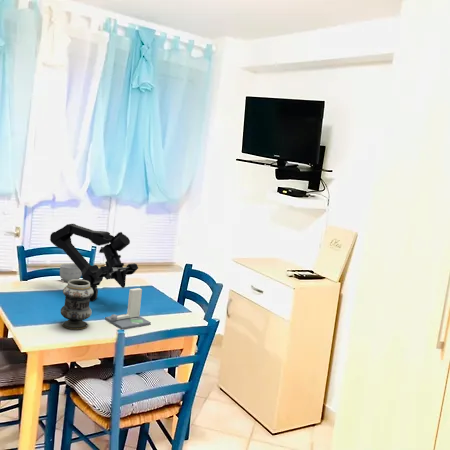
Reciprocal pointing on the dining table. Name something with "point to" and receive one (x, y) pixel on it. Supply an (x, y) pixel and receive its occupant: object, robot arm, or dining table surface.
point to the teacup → (69, 272)
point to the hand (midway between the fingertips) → (123, 287)
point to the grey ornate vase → (76, 304)
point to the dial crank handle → (131, 305)
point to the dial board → (129, 322)
